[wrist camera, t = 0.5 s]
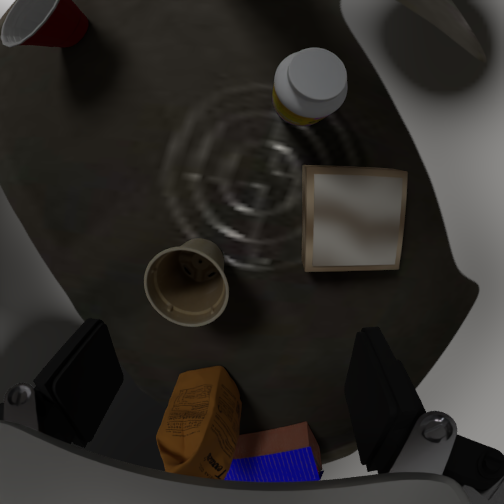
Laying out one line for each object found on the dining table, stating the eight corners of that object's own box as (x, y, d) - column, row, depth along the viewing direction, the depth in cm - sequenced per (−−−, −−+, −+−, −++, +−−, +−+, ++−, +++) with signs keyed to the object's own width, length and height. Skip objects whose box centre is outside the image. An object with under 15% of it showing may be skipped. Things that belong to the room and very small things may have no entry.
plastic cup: (117, 15, 27) (72, -16, 16) (70, 72, 30) (16, 59, 19) (82, -6, 25) (40, -31, 13) (41, 46, 28) (-8, 33, 16)
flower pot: (250, 249, 37) (245, 277, 29) (216, 303, 40) (204, 340, 32) (186, 212, 36) (163, 230, 28) (158, 270, 39) (133, 300, 31)
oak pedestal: (302, 165, 33) (307, 166, 29) (394, 169, 33) (408, 171, 29) (301, 259, 37) (305, 272, 33) (387, 258, 37) (399, 270, 33)
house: (321, 446, 52) (326, 489, 41) (237, 461, 55) (233, 501, 44) (307, 419, 48) (312, 468, 37) (214, 436, 52) (206, 481, 41)
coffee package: (198, 412, 49) (174, 510, 28) (173, 366, 45) (130, 475, 24) (249, 408, 48) (239, 515, 27) (229, 360, 44) (207, 483, 23)
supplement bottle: (303, 138, 32) (322, 130, 20) (260, 102, 31) (256, 74, 19) (338, 100, 31) (374, 76, 18) (297, 65, 29) (311, 23, 17)
